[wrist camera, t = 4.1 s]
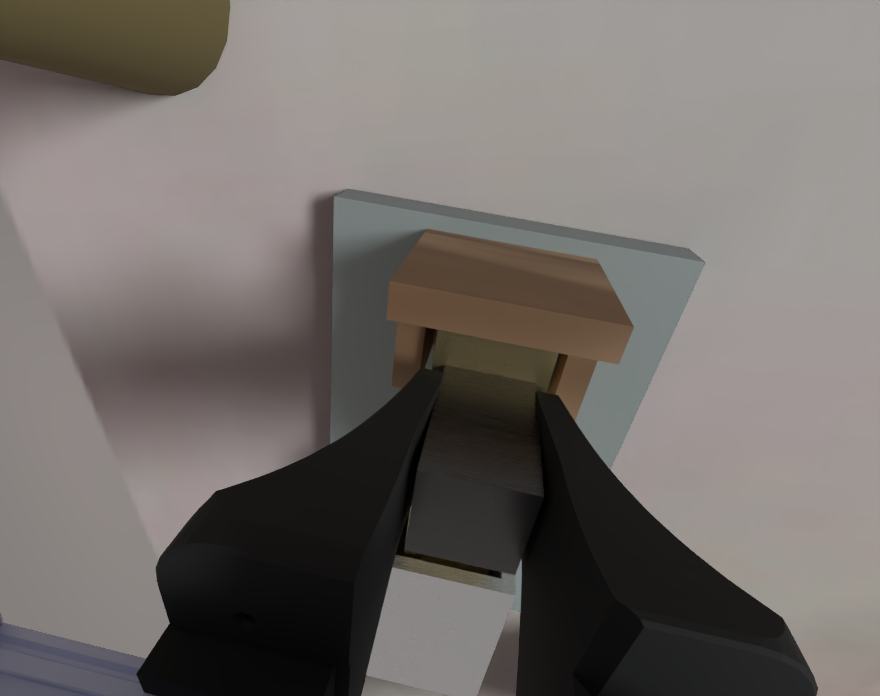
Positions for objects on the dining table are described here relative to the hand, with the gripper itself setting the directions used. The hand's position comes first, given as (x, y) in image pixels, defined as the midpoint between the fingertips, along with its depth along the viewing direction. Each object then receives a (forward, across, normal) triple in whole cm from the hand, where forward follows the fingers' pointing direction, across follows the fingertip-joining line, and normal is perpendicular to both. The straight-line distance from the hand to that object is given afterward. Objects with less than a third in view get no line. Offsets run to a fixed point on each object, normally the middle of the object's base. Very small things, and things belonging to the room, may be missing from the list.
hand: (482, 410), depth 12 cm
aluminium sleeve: (+4, 0, +11) cm, 12 cm away
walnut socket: (+4, 0, -2) cm, 5 cm away
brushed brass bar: (+4, 0, +4) cm, 6 cm away
